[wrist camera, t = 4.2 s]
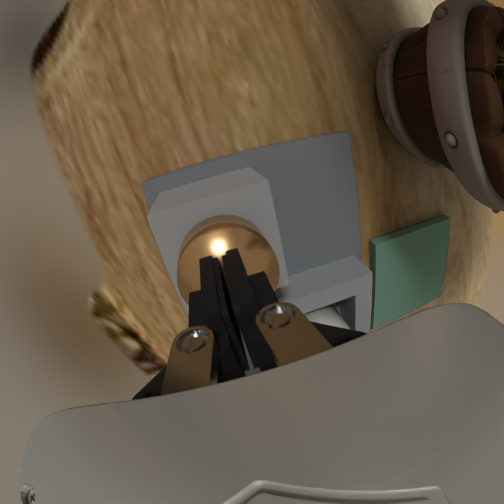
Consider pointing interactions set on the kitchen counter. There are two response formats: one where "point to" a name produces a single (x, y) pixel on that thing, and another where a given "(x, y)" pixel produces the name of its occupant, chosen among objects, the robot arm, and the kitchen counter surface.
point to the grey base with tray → (278, 218)
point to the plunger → (217, 242)
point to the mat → (407, 269)
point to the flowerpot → (450, 94)
